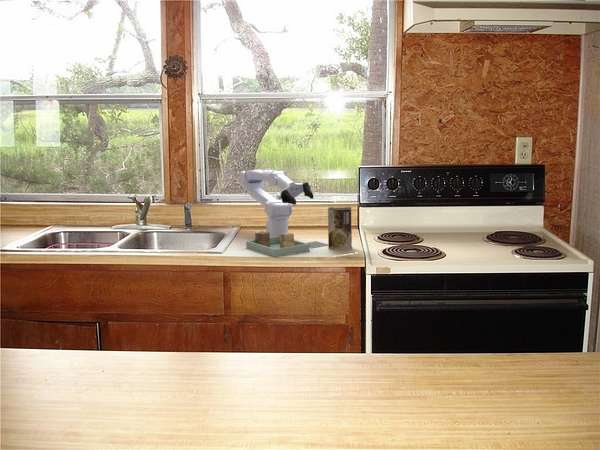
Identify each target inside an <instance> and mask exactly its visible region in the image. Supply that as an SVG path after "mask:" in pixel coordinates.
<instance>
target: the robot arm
mask: <svg viewBox="0 0 600 450" xmlns="http://www.w3.org/2000/svg"><path fill="white" fill-rule="evenodd" d="M238 180H239V184H240V187H242V188H243V189H245V190H246V191H247V193H248V194H249V196H251V198H252V199H254V200H255V201H256V202H257V203H259V204H260V205H262V206H263V207H264V213H265V214H266V217H268V219H267V220H266V223H265V224H266V225H265V226H266V231H265V232H270V238H272V237H278V236H280V235H279V234H280V233H287V232H288V233H289V222H288V221H289V219H290V217H291V215H292V213H293V206H292V205H294V206H295V205H297V199H296V198H297V197H298V196H300V195H301V194H302V193H304V194H303V196H304V197H308V198H310V199H312V200H313V199H314V193H313V192H312V190H311V189H312V184H311V183H309V182H303V183H296V182H295V181H293V180H291V179H290V178H289V177H288V176H287V173H286V171H284V170H280V171H279V170H278V171H277V170H276V169H272V168H270V167H269V168H268V167H267V168H266V169H265V170H263V169H249V170H241V171H240V172H239V174H238ZM265 184H268V185H270V187H273V186H274V187H276V188H278V189H279V190H280V192H278V193H276V198H277V199H276V198H275V197H274V196H272V195H271V194H270V193H268V192H267V191H265V190H264V188H265Z"/></svg>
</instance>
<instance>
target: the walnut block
mask: <svg viewBox="0 0 600 450" xmlns="http://www.w3.org/2000/svg"><path fill="white" fill-rule="evenodd" d="M254 238H255V239H254V240H255V243H257V244H260V245H263V246H267V247H270V232H266V231H264V230H263V231H256V232H254Z"/></svg>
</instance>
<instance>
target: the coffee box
mask: <svg viewBox="0 0 600 450" xmlns="http://www.w3.org/2000/svg"><path fill="white" fill-rule="evenodd" d="M327 219H328V220H327V227H328V229H327V231H328V233H327V235H328V236H327V237H328V238H327V239H328V240H327V241H328V243H327V244H328V246H327V248H328V250H352V249H353V245H352V244H353V242H352V240H353V239H352V238H353V237H352V207H351V206H333V207H332V206H328V208H327Z"/></svg>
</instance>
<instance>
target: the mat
mask: <svg viewBox="0 0 600 450" xmlns="http://www.w3.org/2000/svg"><path fill="white" fill-rule="evenodd" d="M306 243H307V244H310V249H317V248H318V249H319V248H323V247H328V243H325V242H320V241H314V240H313V241H309V242H306Z"/></svg>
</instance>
